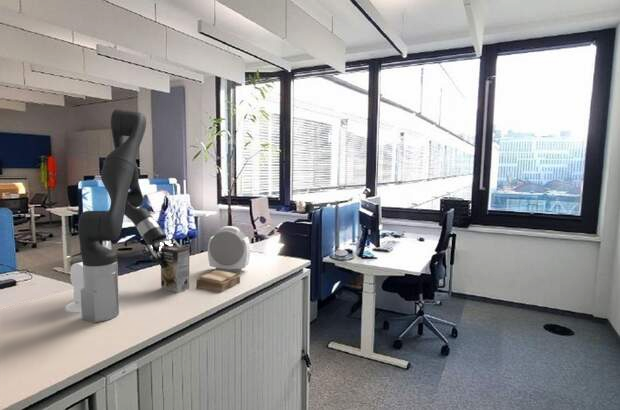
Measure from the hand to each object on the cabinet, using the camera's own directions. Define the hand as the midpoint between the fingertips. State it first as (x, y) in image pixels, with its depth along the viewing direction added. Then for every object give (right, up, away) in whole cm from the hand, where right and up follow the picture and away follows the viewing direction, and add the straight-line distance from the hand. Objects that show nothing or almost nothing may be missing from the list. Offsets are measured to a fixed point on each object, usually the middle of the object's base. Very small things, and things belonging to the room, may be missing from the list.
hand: (174, 264), depth 137 cm
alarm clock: (+15, -7, +26) cm, 31 cm away
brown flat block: (+15, -9, +6) cm, 19 cm away
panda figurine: (-23, -11, -17) cm, 31 cm away
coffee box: (0, -10, +1) cm, 10 cm away
